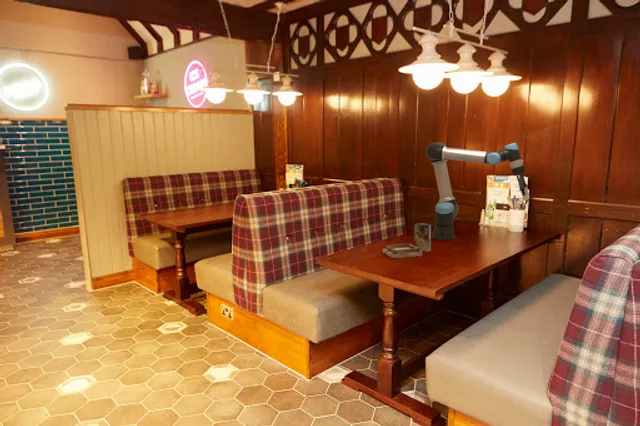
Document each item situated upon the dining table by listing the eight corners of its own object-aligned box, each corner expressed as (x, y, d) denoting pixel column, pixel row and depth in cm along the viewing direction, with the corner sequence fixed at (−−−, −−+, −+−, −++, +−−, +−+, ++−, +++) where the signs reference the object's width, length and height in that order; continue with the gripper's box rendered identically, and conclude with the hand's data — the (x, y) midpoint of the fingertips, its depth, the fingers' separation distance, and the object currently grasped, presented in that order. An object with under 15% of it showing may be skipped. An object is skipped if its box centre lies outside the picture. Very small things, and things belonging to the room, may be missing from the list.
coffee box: (431, 249, 266) (432, 223, 263) (428, 252, 260) (429, 225, 257) (416, 247, 270) (417, 222, 267) (413, 250, 265) (414, 224, 262)
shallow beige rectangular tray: (382, 252, 260) (382, 245, 260) (411, 249, 265) (411, 242, 265) (392, 258, 247) (392, 251, 246) (422, 256, 252) (422, 248, 251)
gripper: (521, 166, 266) (531, 199, 266) (524, 163, 287) (534, 194, 288) (509, 170, 269) (518, 202, 270) (512, 167, 291) (522, 197, 291)
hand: (526, 198), depth 279 cm, fingers open, 13 cm apart
